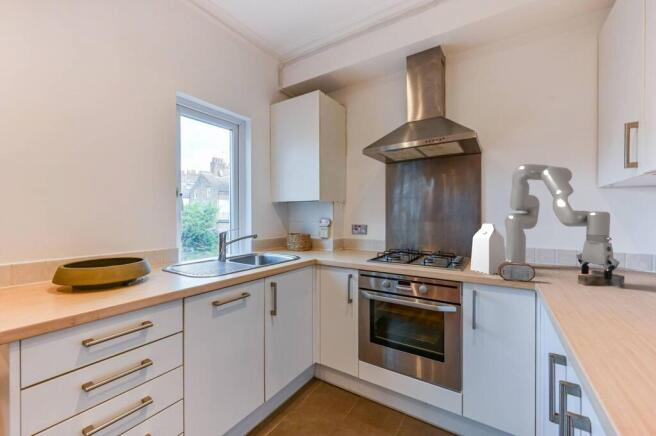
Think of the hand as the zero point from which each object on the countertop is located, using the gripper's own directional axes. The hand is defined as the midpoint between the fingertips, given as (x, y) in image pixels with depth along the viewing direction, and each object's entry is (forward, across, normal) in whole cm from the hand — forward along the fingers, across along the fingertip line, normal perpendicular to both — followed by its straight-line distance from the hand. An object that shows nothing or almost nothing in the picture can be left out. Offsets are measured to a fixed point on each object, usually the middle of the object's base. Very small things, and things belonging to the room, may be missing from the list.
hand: (595, 276), depth 127 cm
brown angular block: (+3, 0, +2) cm, 4 cm away
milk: (+4, +30, +31) cm, 43 cm away
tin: (+4, +10, +31) cm, 33 cm away
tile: (+3, +14, -12) cm, 19 cm away
